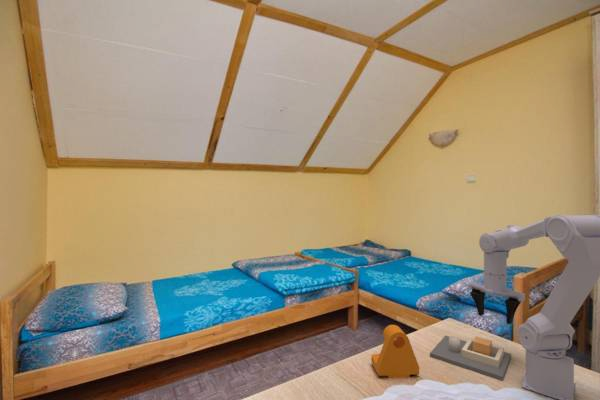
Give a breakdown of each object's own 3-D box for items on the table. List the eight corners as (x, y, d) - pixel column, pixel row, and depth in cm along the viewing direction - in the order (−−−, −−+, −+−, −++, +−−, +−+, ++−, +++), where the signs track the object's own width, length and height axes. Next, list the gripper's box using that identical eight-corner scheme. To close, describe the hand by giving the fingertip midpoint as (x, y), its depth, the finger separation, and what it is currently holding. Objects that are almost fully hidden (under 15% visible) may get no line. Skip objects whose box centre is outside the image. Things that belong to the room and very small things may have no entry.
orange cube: (491, 356, 88) (491, 340, 88) (489, 362, 85) (489, 345, 85) (475, 351, 91) (476, 336, 91) (472, 357, 88) (472, 341, 88)
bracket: (407, 362, 87) (407, 320, 87) (419, 377, 80) (419, 331, 80) (370, 363, 86) (370, 321, 86) (378, 378, 79) (378, 332, 79)
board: (511, 357, 89) (511, 342, 89) (502, 380, 78) (502, 363, 78) (445, 338, 101) (445, 324, 101) (429, 356, 90) (429, 341, 90)
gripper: (463, 270, 95) (463, 314, 95) (518, 281, 83) (517, 330, 83) (474, 267, 99) (474, 309, 99) (527, 277, 87) (527, 324, 87)
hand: (494, 318), depth 91 cm, fingers open, 7 cm apart
